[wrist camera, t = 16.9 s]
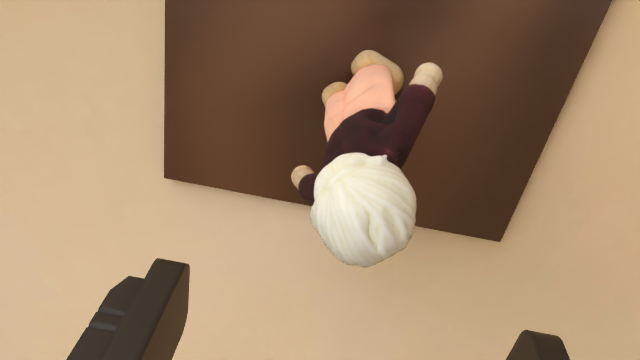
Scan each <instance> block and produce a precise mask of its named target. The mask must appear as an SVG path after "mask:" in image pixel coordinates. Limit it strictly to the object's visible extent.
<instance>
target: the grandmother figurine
mask: <svg viewBox="0 0 640 360" xmlns="http://www.w3.org/2000/svg"><path fill="white" fill-rule="evenodd" d="M351 71H352V74H353V75H354V76H353V78H352V79H351V81H350V82H349V83H348V84H346V83H344V82H334V83H332V84H330V85H329V86H327V87H326V88H325V89H324V90H323V93H322V101H323V103H324V106H325V108H326V109H325V120H324V128H325V133H326V137H327V146H326V151H325V154H324V157H323V162H322V170H321V171H320V173H319V174H318V173H315V172H313V170H312V169H311V168H309V167H308V166H305V165H302V166H298V167H296V168H295V169H294V170H293V172H292V175H291V179H292V182H293V184H294V185H295V186H296V187H297V189H298V191H299V194H300V196H301V197H302V199H303V200H305V201H307V202H310V203H312V204H313V206H312V209H311V213H310V219H311V222H312V224H313V226H314V227H315V229H316V230H317V232H318V233H319V235H320V236H321V238H322V240H323V241H324V243H325V245H326V246H327V248H328V249H329V250H330V251H331V252H332V253H333V255H335V256H336V257H337V258H338V259H339V260H340V261H342V262H343V263H345V264H347V265H353V266H354V265H356V266H361V267H370V266H373V265H375V264H377V263H379V262H381V261H383V260H385V259H387V258H389V257H391V256H393V255H394V254H396V253H397V252H399V251H401V250H403V249H404V248H405V247H406V245H407V243H408V241H409V240H410V239H411V237H412V233H413V229H414V226H415V222H416V218H415V214H416V208H417V205H416V195H415V192H414V190H413V188H412V186H411V185H410V183H409V181H408V180H407V178H406V177H405V176H404V174H403V173H402V171H401V168H402V167H403V165H404V164H405V162H406V160H407V158H408V156H409V154H410V152H411V150H412V148H413V146H414V143H415V141H416V139H417V137H418V135H419V133H420V131H421V129H422V127H423V125H424V123H425V120H426V118H427V116H428V115H429V113H430V111H431V110H432V108H433V105H434V102H435V95H436V92H437V87H438V86H439V85H440V83H441V81H442V78H443V74H442V70H441V69H440V67H439V66H438V65H436V64H434V63H430V62H429V63H424V64H422V65H420V66H419V67H418V68H417V70H416V72H415V74H414V78H413V79H412V80H411V82H410V84H409V85H408V86H407V87H406V89H405V90H404V91H403V93H402V94H401V95H400V97H399V98H398V100H395V96H394V95H396V94H397V93H398V91H399V90H400V89H401V87H402V85H403V82H404V75H403V72H402V70H401V68H400V67H399V66H398V65H396V64H395V63H393V62H392V61H390V60H389V59H387V58H385V57H384V56H382V55H381V54H379V53H377V52H376V51H373V50H364V51H362V52H361V53H359V54H358V55H357V56H356V58H355V59H354V60H353V62H352V64H351Z"/></svg>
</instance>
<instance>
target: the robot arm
mask: <svg viewBox="0 0 640 360" xmlns="http://www.w3.org/2000/svg"><path fill="white" fill-rule="evenodd" d="M189 275H190V267H189V264H185V263H180V262H175V261H170V260H165V259H159V258H157V259H156V260H155V261H154V263H153V264H152V266H151V268H150V270H149V271H148V273H147V275H146V277H145V279H142V278H137V277H132V276H128V277H127V278H126V279H124V280H123V281H122V282H120V283H119V284H118V285H116V286H115V287H114V288H112V289H111V290H110V291H109V293H108V294H107V296H106V298H105V299H104V301H103V302H102V304H101V305H100V307H99V310H98V312H96V313H95V315H94V317H93V318H92V320H91V321H90V323H89V326H88V327H87V328H86V329H85V331H84V333H83V334H82V336H81V337H80V339H79V340H78V342H77V344H76V345H75V347H74V348H73V350H72V352H71V353H70V355H69V356H68V358H67V360H172V357H173V355H174V353H175V350H176V348H177V345H178V343H179V341H180V338H181V336H182V333H183V330H184V327H185V323H186V319H187V313H188V298H189ZM506 360H570V359H569V356H568V354H567V351H566V349H565V346H564V344H563V342H562V340H561V338H559V337H558V336H555V335H550V334H545V333H539V332H534V331H529V330H524V331H523V332H522V333H521V334H520V335H519V337H518V339H517V341H516V343H515V344H514V346H513V348H512V350H511V352H510V353H509V355H508V357H507V359H506Z"/></svg>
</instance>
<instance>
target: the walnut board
mask: <svg viewBox="0 0 640 360" xmlns="http://www.w3.org/2000/svg"><path fill="white" fill-rule="evenodd" d="M611 1H612V0H165V111H164V178H167V179H172V180H178V181H183V182H188V183H193V184H199V185H204V186H209V187H214V188H220V189H225V190H230V191H235V192H241V193H246V194H251V195H256V196H262V197H267V198H272V199H277V200H282V201H288V202H293V203H298V204H303V205H309V206H313V204H312V203H310V202H307V201H305V200H303V199H302V197H301V196H300V194H299V191H298V189H297V187H296V186H295V185H294V184H293V182H292V179H291V175H292V172H293V170H294V169H295V168H296V167H298V166H302V165H305V166H308V167H309V168H311V169H312V170H313V172H315V173H318V174H319V173H320V171H321V170H322V162H323V157H324V154H325V151H326V146H327V137H326V133H325V128H324V120H325V109H326V108H325V106H324V103H323V101H322V93H323V90H324V89H325V88H326V87H327V86H329V85H330V84H332V83H334V82H344V83H346V84H348V83H349V82H350V81H351V79H352V78H353V76H354V75H353V74H352V71H351V64H352V62H353V60H354V59H355V58H356V56H357V55H358V54H359V53H361V52H362V51H364V50H373V51H376V52H377V53H379V54H381V55H382V56H384V57H385V58H387V59H389V60H390V61H392V62H393V63H395V64H396V65H398V66H399V67H400V68H401V70H402V72H403V75H404V82H403V85H402V87H401V89H400V90H399V91H398V93H397V94H396V95H394V96H395V100H398V98H399V97H400V95H401V94H402V93H403V91H404V90H405V89H406V87H407V86H408V85H409V84H410V82H411V80H412V79H413V78H414V74H415V72H416V70H417V68H418V67H419V66H420V65H422V64H424V63H429V62H430V63H434V64H436V65H438V66H439V67H440V69H441V70H442V74H443V78H442V81H441V83H440V85H439V86H438V87H437V92H436V95H435V102H434V105H433V108H432V110H431V111H430V113H429V115H428V116H427V118H426V120H425V123H424V125H423V127H422V129H421V131H420V133H419V135H418V137H417V139H416V141H415V143H414V146H413V148H412V150H411V152H410V154H409V156H408V158H407V160H406V162H405V164H404V165H403V167H402V168H401V171H402V173H403V174H404V176H405V177H406V178H407V180H408V181H409V183H410V185H411V186H412V188H413V190H414V192H415V195H416V205H417V208H416V214H415V218H416V222H415V226H419V227H424V228H429V229H434V230H440V231H445V232H450V233H455V234H461V235H466V236H471V237H476V238H482V239H487V240H492V241H497V242H500V241H501V239H502V237H503V235H504V233H505V230H506V228H507V226H508V224H509V222H510V220H511V217H512V215H513V213H514V211H515V209H516V207H517V204H518V202H519V200H520V198H521V196H522V194H523V191H524V189H525V187H526V185H527V183H528V181H529V178H530V176H531V174H532V172H533V170H534V168H535V166H536V163H537V161H538V159H539V157H540V155H541V153H542V150H543V148H544V146H545V144H546V142H547V140H548V137H549V135H550V133H551V131H552V129H553V127H554V124H555V122H556V120H557V118H558V116H559V114H560V112H561V109H562V107H563V105H564V103H565V101H566V99H567V96H568V94H569V92H570V90H571V88H572V86H573V83H574V81H575V79H576V77H577V75H578V73H579V70H580V68H581V66H582V64H583V62H584V60H585V57H586V55H587V53H588V51H589V49H590V47H591V45H592V42H593V40H594V38H595V36H596V34H597V32H598V29H599V27H600V25H601V23H602V21H603V19H604V16H605V14H606V12H607V10H608V8H609V6H610V3H611Z"/></svg>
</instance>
